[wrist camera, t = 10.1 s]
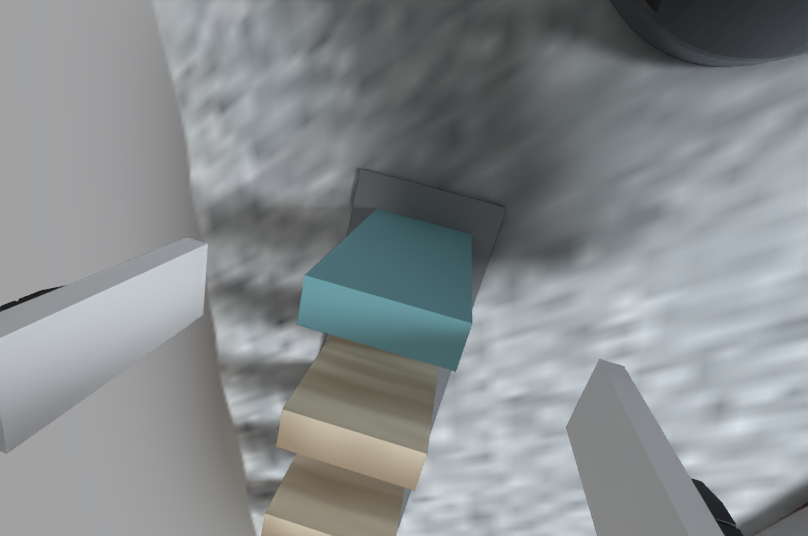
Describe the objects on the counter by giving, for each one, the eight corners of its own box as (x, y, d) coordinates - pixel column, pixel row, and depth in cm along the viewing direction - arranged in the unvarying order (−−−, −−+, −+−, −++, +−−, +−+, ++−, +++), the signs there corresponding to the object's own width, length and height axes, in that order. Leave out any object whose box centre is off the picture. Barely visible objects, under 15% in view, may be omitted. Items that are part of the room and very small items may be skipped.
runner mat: (361, 168, 25) (360, 169, 25) (505, 207, 25) (506, 208, 24) (291, 518, 36) (290, 522, 36) (390, 550, 36) (389, 554, 35)
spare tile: (377, 208, 26) (304, 275, 14) (471, 234, 25) (472, 323, 14) (370, 238, 26) (296, 324, 15) (462, 264, 26) (455, 371, 15)
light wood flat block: (358, 293, 28) (282, 409, 17) (444, 318, 27) (427, 454, 16) (352, 319, 28) (275, 446, 17) (437, 343, 28) (414, 490, 17)
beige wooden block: (341, 366, 30) (264, 513, 19) (422, 390, 30) (392, 555, 18) (337, 389, 31) (259, 543, 19) (415, 412, 30) (382, 584, 19)
